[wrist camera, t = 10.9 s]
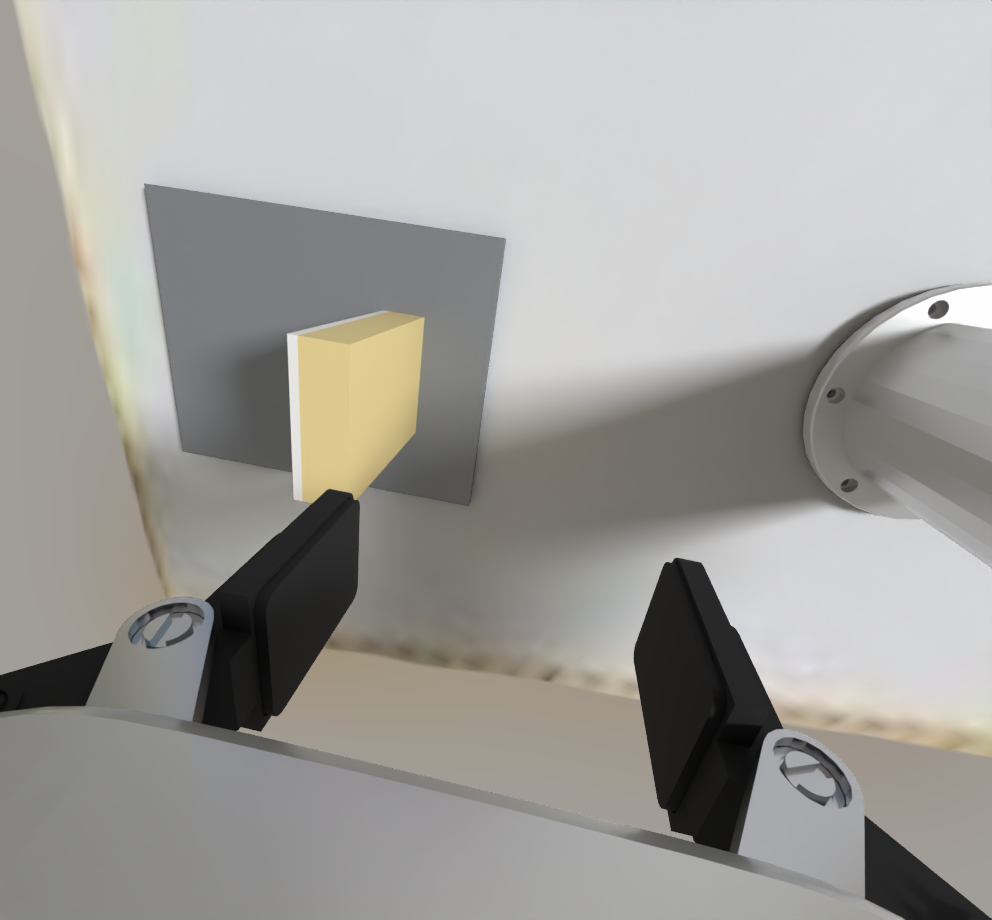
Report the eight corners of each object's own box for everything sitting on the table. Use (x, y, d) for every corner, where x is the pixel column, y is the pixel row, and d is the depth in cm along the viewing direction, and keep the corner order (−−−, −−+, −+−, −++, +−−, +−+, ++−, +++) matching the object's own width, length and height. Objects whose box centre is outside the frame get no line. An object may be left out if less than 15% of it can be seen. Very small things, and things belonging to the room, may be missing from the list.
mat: (505, 239, 24) (504, 238, 24) (470, 501, 31) (468, 505, 30) (153, 185, 26) (144, 183, 25) (189, 448, 32) (182, 451, 31)
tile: (424, 317, 26) (350, 344, 17) (415, 432, 29) (347, 510, 20) (383, 310, 26) (286, 333, 17) (378, 425, 29) (293, 499, 20)
